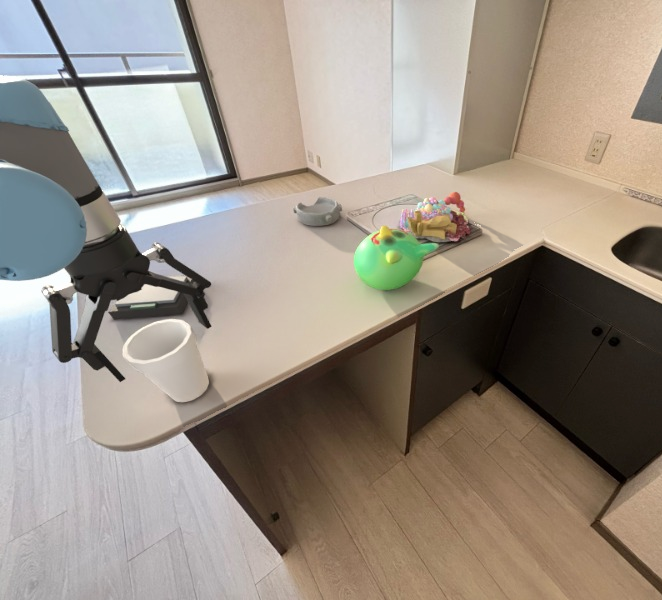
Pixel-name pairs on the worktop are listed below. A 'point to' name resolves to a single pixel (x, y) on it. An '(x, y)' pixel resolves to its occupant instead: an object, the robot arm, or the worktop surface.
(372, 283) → the toy bird
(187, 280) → the scale
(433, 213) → the candy landscape model
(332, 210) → the dish
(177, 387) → the foam cup
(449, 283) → the worktop surface
